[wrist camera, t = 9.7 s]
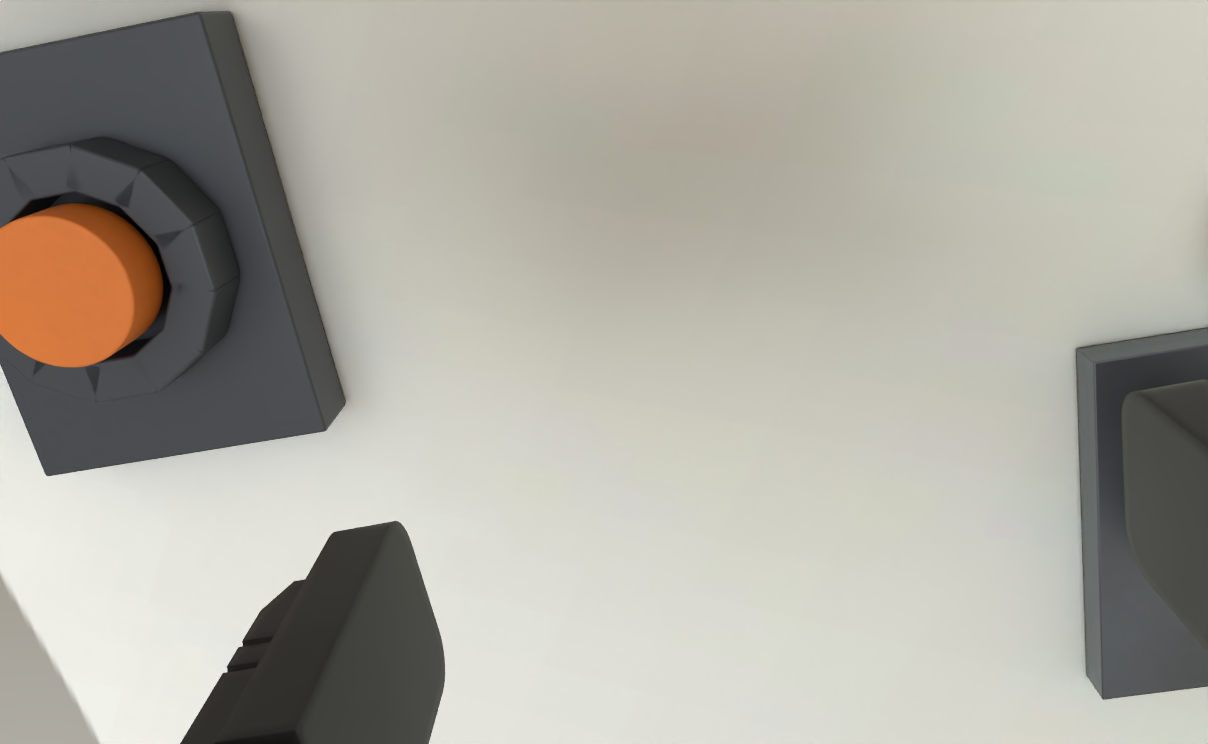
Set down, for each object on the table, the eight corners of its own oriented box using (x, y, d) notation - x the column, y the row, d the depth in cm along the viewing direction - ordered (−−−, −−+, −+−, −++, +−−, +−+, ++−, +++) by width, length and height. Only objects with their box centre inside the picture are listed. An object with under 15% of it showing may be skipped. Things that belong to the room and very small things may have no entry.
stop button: (-7, 217, 27) (-50, 231, 25) (135, 190, 26) (101, 202, 25) (48, 357, 28) (11, 379, 27) (184, 334, 28) (155, 354, 26)
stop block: (-65, 71, 29) (-170, 81, 25) (232, 10, 28) (168, 11, 25) (82, 448, 33) (10, 504, 29) (346, 404, 32) (307, 457, 28)
